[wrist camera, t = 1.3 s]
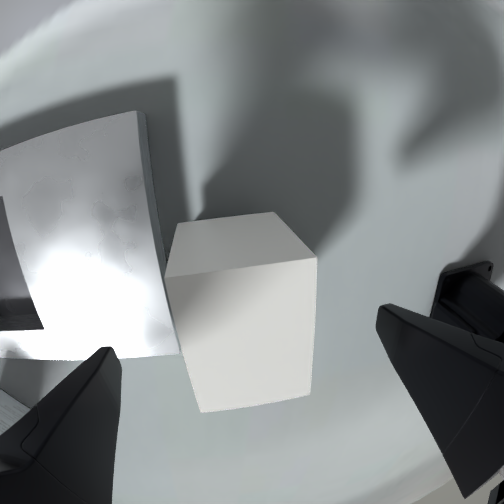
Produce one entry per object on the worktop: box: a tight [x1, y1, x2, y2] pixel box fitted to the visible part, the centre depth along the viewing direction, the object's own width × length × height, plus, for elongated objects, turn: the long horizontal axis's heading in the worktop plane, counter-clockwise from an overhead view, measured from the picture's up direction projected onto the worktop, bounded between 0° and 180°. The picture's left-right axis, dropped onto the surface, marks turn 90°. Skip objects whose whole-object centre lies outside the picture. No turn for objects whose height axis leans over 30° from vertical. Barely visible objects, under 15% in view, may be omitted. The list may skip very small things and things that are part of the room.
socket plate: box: [0, 110, 181, 360], centre depth 11 cm, size 16×11×2 cm
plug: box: [164, 212, 317, 413], centre depth 12 cm, size 4×6×6 cm
